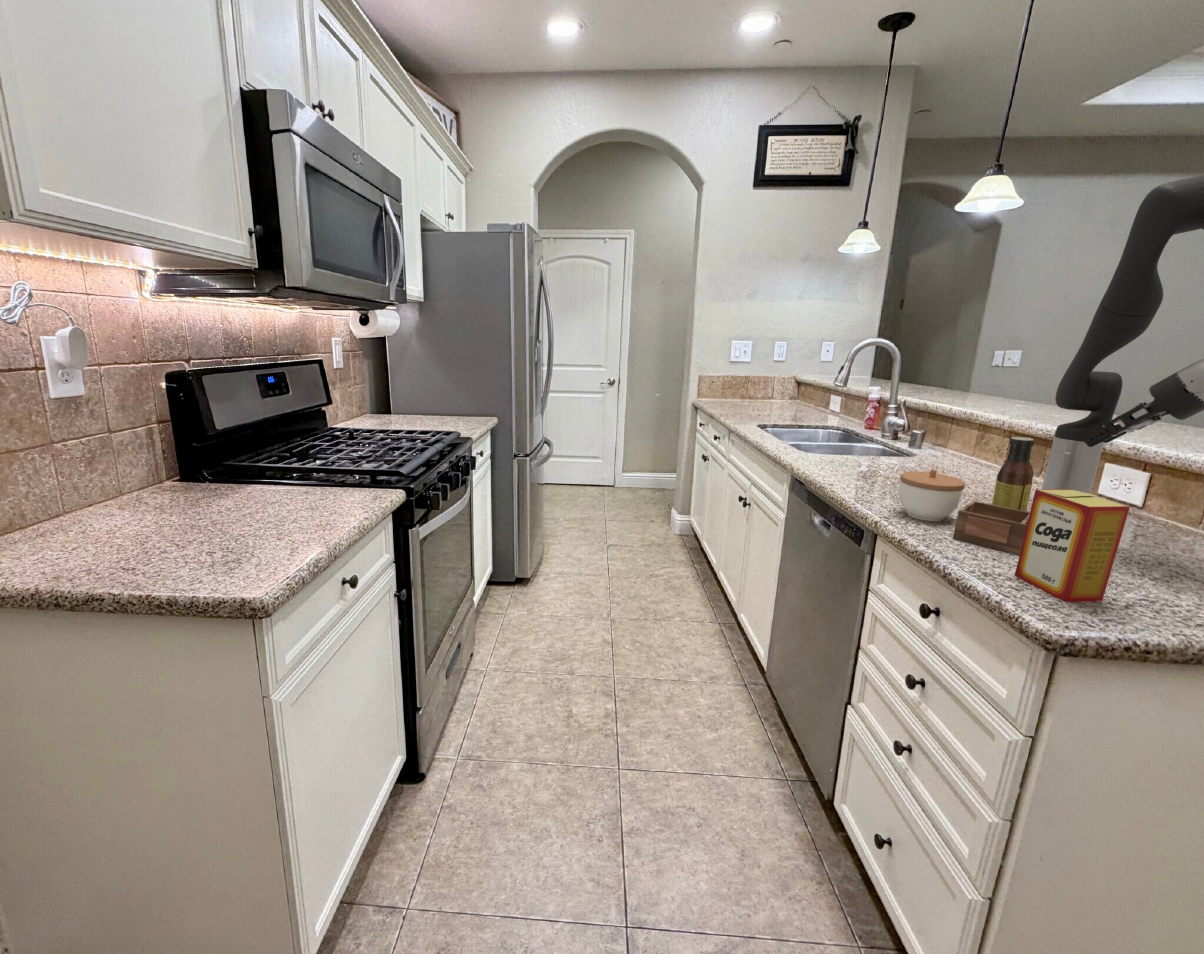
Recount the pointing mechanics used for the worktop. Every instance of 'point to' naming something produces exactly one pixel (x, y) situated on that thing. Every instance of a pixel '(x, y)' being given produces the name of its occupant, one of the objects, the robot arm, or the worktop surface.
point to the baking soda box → (1071, 544)
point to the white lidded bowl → (929, 494)
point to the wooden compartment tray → (992, 526)
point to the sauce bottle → (1015, 476)
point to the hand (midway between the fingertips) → (1093, 441)
